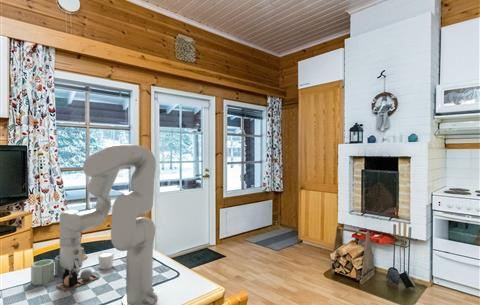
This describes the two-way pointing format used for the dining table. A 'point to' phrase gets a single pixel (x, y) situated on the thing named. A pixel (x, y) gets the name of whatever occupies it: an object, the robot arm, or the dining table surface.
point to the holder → (79, 283)
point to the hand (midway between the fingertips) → (70, 283)
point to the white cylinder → (106, 260)
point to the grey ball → (86, 274)
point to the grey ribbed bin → (59, 267)
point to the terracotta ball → (66, 280)
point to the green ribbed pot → (42, 272)
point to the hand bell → (83, 251)
